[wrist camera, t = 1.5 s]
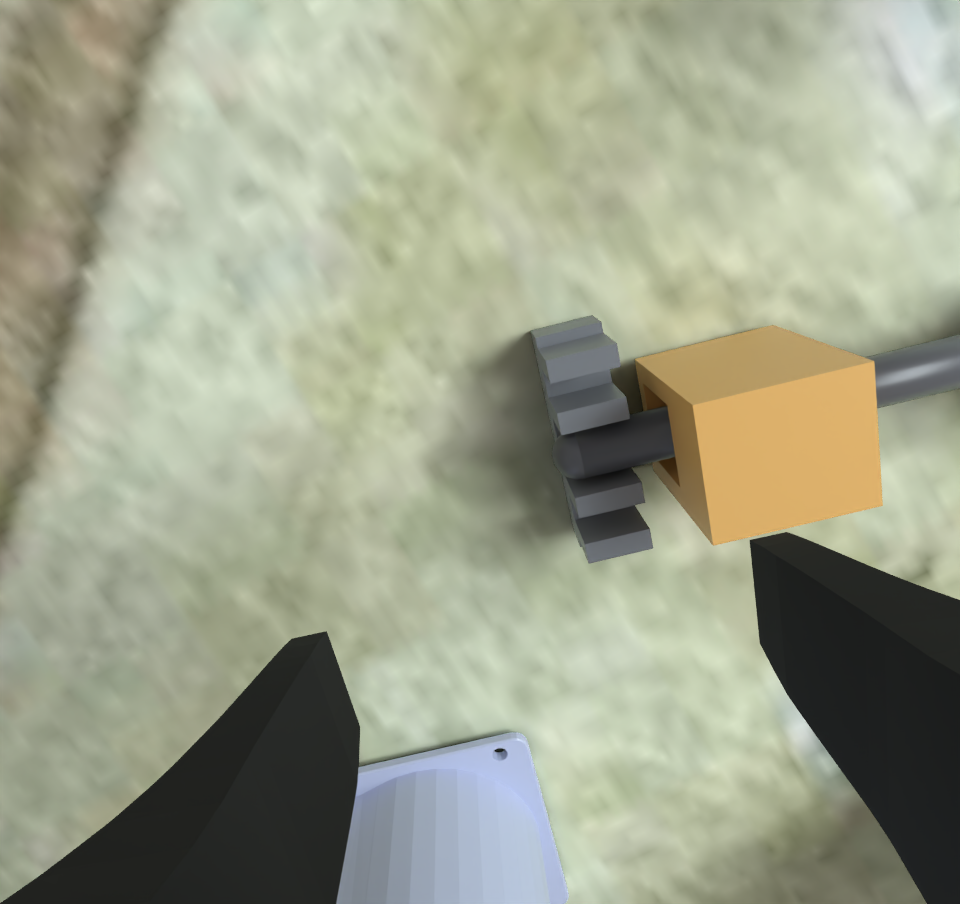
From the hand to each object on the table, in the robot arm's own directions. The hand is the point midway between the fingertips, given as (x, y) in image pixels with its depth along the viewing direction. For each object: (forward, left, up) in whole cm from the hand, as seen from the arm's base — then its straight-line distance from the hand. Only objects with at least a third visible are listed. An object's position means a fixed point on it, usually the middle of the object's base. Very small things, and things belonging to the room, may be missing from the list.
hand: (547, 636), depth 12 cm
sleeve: (+6, 0, -10) cm, 12 cm away
